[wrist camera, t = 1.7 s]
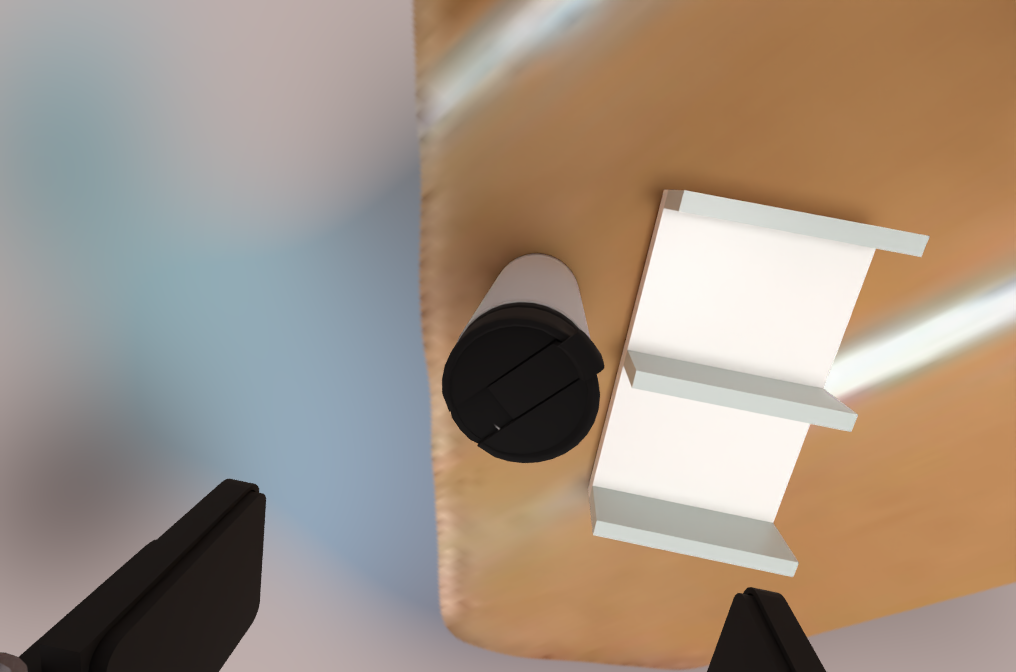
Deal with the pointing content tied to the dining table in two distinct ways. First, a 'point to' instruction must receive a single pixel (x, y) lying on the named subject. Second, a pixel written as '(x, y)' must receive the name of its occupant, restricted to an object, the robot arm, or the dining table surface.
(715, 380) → the dish rack
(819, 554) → the dining table surface
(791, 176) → the dining table surface
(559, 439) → the travel mug
